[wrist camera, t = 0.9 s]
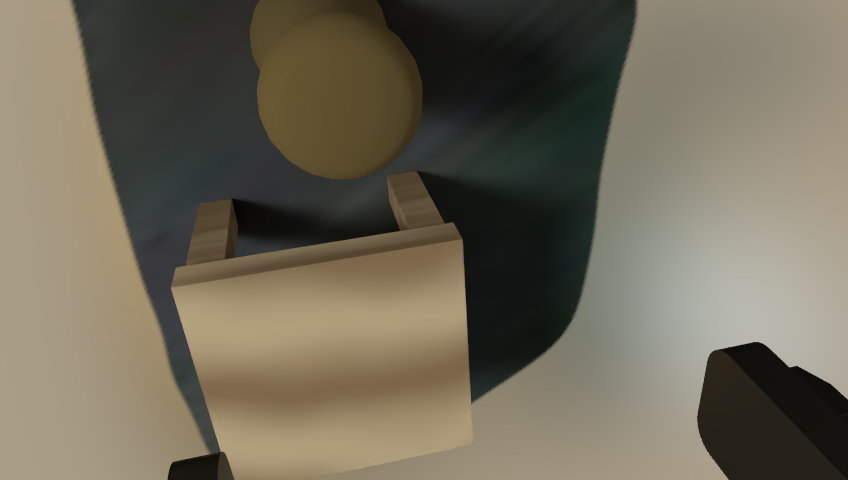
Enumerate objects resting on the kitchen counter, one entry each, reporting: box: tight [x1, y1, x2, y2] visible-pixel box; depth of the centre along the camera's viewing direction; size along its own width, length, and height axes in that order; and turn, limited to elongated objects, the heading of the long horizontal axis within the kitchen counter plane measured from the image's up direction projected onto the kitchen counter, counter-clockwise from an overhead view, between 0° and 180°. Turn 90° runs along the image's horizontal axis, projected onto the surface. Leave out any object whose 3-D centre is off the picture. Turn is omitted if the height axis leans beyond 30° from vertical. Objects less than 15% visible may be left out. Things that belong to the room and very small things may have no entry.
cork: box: [250, 0, 423, 180], centre depth 24 cm, size 6×6×11 cm
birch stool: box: [171, 171, 473, 480], centre depth 31 cm, size 11×11×8 cm
